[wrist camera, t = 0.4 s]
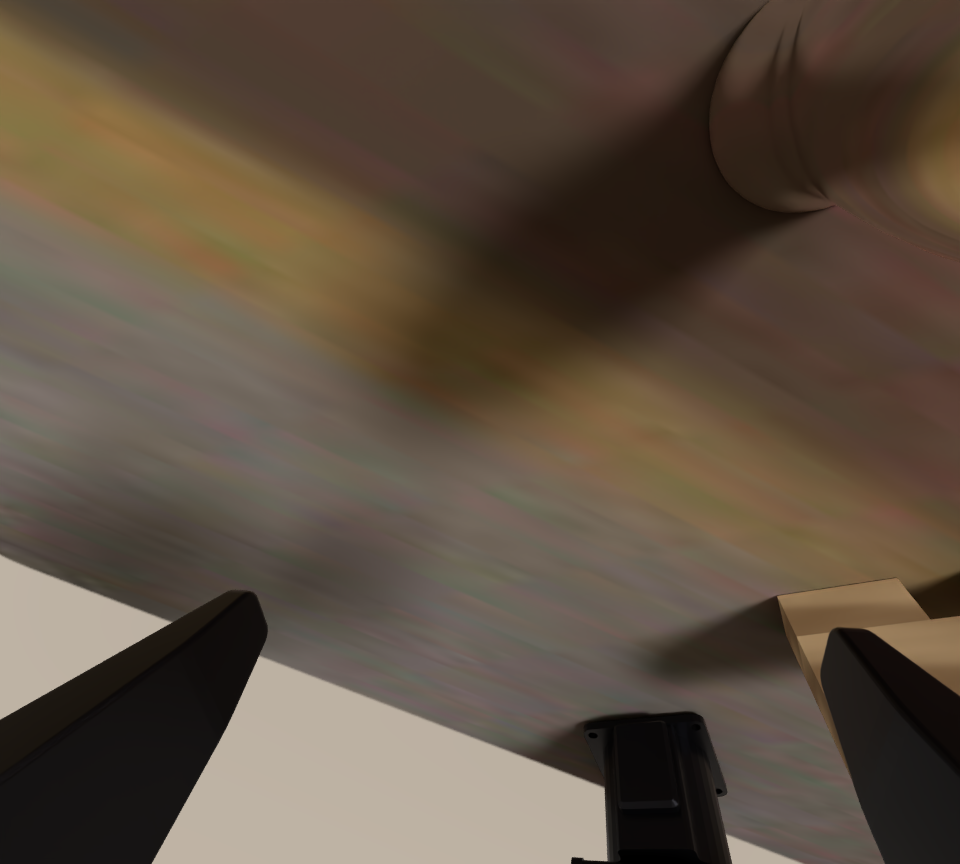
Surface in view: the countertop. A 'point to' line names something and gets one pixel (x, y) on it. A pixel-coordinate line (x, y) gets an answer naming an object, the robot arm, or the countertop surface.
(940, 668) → the tan block
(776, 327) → the countertop surface
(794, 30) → the beer glass
